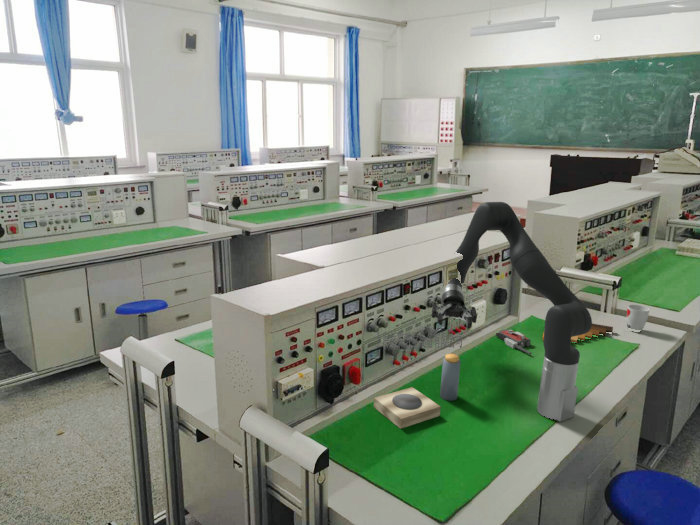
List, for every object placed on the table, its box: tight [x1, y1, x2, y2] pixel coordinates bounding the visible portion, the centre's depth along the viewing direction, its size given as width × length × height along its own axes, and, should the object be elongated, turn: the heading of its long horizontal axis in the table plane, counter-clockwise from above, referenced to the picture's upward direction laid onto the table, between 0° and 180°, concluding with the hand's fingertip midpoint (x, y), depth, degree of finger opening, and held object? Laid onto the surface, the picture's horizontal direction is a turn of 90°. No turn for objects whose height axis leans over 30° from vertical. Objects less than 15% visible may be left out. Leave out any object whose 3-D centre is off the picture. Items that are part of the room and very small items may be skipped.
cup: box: [626, 304, 650, 331], centre depth 225 cm, size 8×8×10 cm
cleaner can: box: [439, 353, 462, 402], centre depth 164 cm, size 5×5×13 cm
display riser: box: [373, 386, 442, 430], centre depth 156 cm, size 13×14×3 cm
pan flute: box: [541, 323, 614, 344], centre depth 217 cm, size 25×3×25 cm
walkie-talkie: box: [495, 328, 532, 355], centre depth 207 cm, size 9×4×20 cm
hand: (454, 324), depth 169 cm, fingers open, 8 cm apart
